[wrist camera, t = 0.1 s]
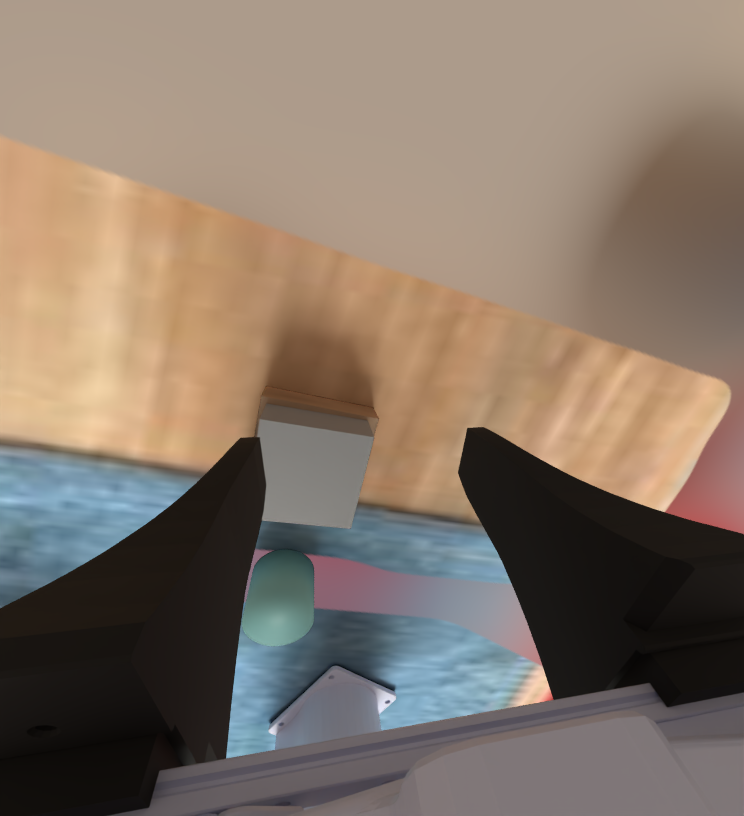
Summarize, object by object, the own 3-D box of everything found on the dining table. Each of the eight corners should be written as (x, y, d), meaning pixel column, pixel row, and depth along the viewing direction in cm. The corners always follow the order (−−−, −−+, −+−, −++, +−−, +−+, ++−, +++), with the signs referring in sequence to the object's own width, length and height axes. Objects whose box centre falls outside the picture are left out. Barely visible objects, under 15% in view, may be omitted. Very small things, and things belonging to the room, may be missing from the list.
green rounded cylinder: (288, 604, 27) (284, 655, 23) (240, 579, 26) (226, 629, 22) (326, 566, 26) (328, 612, 23) (278, 539, 25) (271, 583, 21)
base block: (348, 493, 25) (351, 514, 23) (250, 479, 23) (243, 500, 21) (372, 405, 23) (378, 418, 21) (267, 384, 21) (261, 395, 19)
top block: (347, 503, 22) (350, 528, 20) (253, 493, 21) (245, 518, 19) (367, 420, 21) (374, 437, 18) (266, 403, 19) (259, 419, 17)
